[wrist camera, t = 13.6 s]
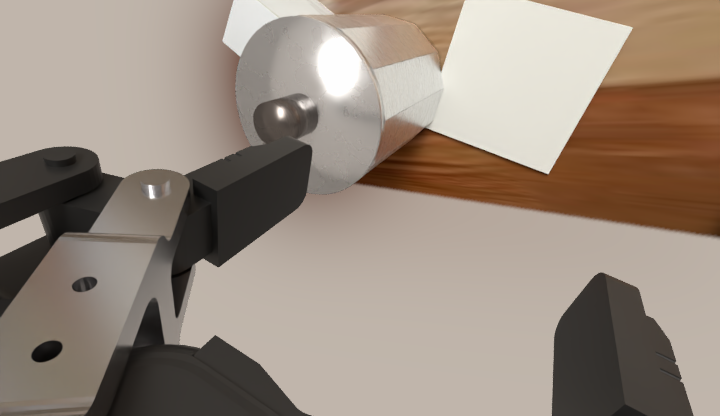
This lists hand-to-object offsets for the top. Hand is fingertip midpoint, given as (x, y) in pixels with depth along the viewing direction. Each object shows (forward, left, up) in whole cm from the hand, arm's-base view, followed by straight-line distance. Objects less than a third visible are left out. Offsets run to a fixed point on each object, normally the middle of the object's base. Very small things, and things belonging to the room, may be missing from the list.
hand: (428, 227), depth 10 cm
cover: (+17, +8, -40) cm, 44 cm away
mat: (+1, +3, -40) cm, 40 cm away
